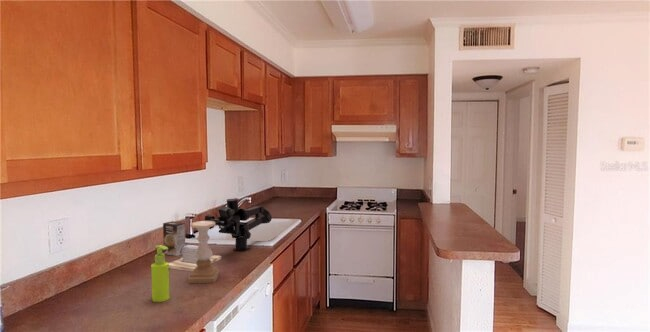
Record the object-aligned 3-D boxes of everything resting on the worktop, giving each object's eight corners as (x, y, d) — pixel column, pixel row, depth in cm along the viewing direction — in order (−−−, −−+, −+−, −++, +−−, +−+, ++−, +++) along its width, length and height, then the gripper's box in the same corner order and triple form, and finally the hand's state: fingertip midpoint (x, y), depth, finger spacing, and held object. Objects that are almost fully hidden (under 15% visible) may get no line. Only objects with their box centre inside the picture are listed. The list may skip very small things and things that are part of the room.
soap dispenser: (160, 304, 136) (158, 249, 135) (148, 299, 140) (147, 246, 139) (174, 298, 141) (173, 245, 140) (163, 294, 145) (161, 242, 144)
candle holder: (193, 274, 167) (192, 220, 165) (219, 273, 168) (218, 220, 166) (187, 283, 156) (186, 226, 154) (214, 282, 157) (213, 225, 155)
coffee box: (163, 254, 196) (162, 223, 195) (172, 250, 202) (171, 220, 201) (176, 256, 192) (176, 224, 191) (186, 252, 198) (185, 222, 197)
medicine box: (202, 264, 181) (201, 246, 180) (195, 267, 176) (195, 248, 176) (188, 262, 183) (188, 244, 183) (182, 264, 179) (181, 246, 179)
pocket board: (194, 255, 194) (194, 252, 194) (221, 258, 188) (221, 255, 188) (166, 267, 175) (165, 264, 175) (194, 271, 170) (194, 268, 170)
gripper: (215, 202, 196) (195, 209, 182) (246, 208, 190) (228, 217, 176) (215, 222, 199) (194, 231, 184) (245, 229, 192) (227, 239, 178)
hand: (211, 229), depth 181 cm, fingers open, 9 cm apart
